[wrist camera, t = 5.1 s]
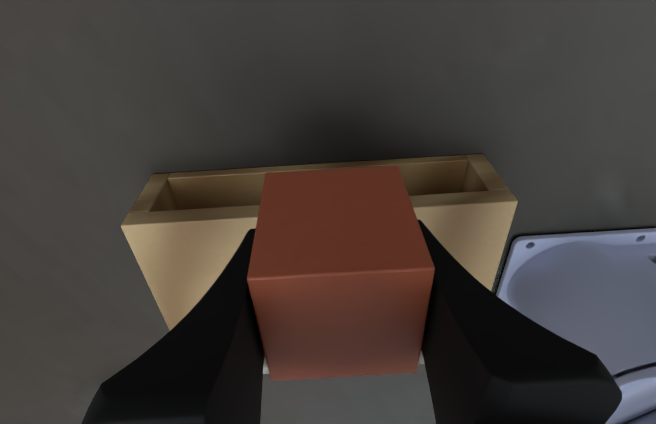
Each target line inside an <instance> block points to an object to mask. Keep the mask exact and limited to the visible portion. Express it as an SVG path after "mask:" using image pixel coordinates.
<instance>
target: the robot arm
mask: <svg viewBox="0 0 656 424" xmlns="http://www.w3.org/2000/svg"><path fill="white" fill-rule="evenodd" d="M418 223H419V225H420V228H421V231H422V234H423V237H424V239H425V242H426V245H427V248H428V251H429V253H430V256H431V259H432V262H433V264H434V267H435V271H434V277H433V283H432V288H431V294H430V300H429V306H428V311H427V317H426V323H425V329H424V335H423V340H422V346H421V350H422V354H423V358H424V363H425V367H426V372H427V377H428V382H429V387H430V392H431V397H432V403H433V408H434V413H435V419H436V424H656V228H648V229H632V230H616V231H600V232H584V233H567V234H551V235H535V236H521V237H518V238H516V239H515V240H513V242H512V245H511V248H510V251H509V255H508V258H507V261H506V264H505V267H504V271H503V274H502V277H501V280H500V283H499V287H498V290H497V293H496V295H495V294H494V293H492V292H491V291H490V290H489V289H487V288H486V287H485V286H484V285H482V284H481V283H480V282H479V281H478V280H477V279H476V278H474V277H473V276H472V275H471V274H470V273H469V272H468V271H467V270H466V269H465V268H464V267H463V266H462V265H461V264H460V263H459V262H458V261H457V260H456V259H455V258H454V257H453V256H452V255H451V254H450V253H449V252H448V251H447V250H446V249H445V248H444V246H443V245H442V244H441V243H440V242H439V241H438V240H437V239H436V237H435V236H434V235H433V234H432V233H431V232H430V230H429V229H428V228H427V227H426V226H425V224H424V223H423V222H422V221H421V220H420V219H419V220H418ZM254 235H255V229H250V230H249V231H248V232H247V233H246V235H245V237H244V239H243V240H242V242H241V244H240V246H239V247H238V249H237V250H236V252H235V254H234V255H233V257H232V258H231V260H230V261H229V263H228V264H227V266H226V267H225V269H224V270H223V271H222V273H221V274H220V276H219V277H218V278H217V280H216V281H215V282H214V283H213V285H212V286H211V287H210V289H209V290H208V291H207V292H206V294H205V295H204V296H203V297H202V298H201V300H200V301H199V302H198V303H197V304H196V305H195V306H194V307H193V308H192V310H191V311H190V312H189V313H188V314H187V315H186V316H185V317H184V318H183V319H182V320H181V321H180V322H179V323H178V324H177V325H176V326H175V327H174V328H173V329H172V330H171V331H169V332H168V333H167V334H166V335H165V336H164V337H163V338H162V339H160V340H159V341H158V342H157V343H156V344H155V345H153V346H152V347H151V348H150V349H149V350H147V351H146V352H145V353H144V354H142V355H141V356H140V357H139V358H137V359H136V360H135V361H133V362H132V363H131V364H129V365H128V366H126V367H125V368H123V369H122V370H121V371H119V372H118V373H116V374H115V375H114V376H112V377H111V378H109V379H108V380H106V381H105V382H103V383H102V384H101V386H100V387H99V389H98V391H97V393H96V394H95V396H94V398H93V400H92V402H91V404H90V406H89V408H88V410H87V412H86V415H85V417H84V419H83V421H82V424H260V415H261V396H262V379H263V365H264V357H265V354H264V349H263V345H262V341H261V337H260V332H259V328H258V324H257V320H256V315H255V311H254V307H253V303H252V299H251V294H250V290H249V286H248V282H247V275H248V270H249V264H250V258H251V252H252V247H253V241H254ZM530 242H531V243H530ZM528 243H529V244H528Z"/></svg>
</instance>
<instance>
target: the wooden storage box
mask: <svg viewBox="0 0 656 424" xmlns="http://www.w3.org/2000/svg"><path fill="white" fill-rule="evenodd" d="M381 166H398V167H399V169H400V172H401V175H402V178H403V181H404V183H405V186H406V189H407V192H408V195H409V197H410V200H411V203H412V206H413V209H414V211H415V214H416V217H417V220H419V219H420V220H421V221H422V222H423V223H424V224H425V226H426V227H427V228H428V229H429V230H430V232H431V233H432V234H433V235H434V236H435V237H436V239H437V240H438V241H439V242H440V243H441V244H442V245H443V246H444V248H445V249H446V250H447V251H448V252H449V253H450V254H451V255H452V256H453V257H454V258H455V259H456V260H457V261H458V262H459V263H460V264H461V265H462V266H463V267H464V268H465V269H466V270H467V271H468V272H469V273H470V274H471V275H472V276H473V277H474V278H476V279H477V280H478V281H479V282H480V283H481V284H482V285H484V286H485V287H486V288H487V289H489V290H490V291H491V290H492V286H493V283H494V280H495V276H496V273H497V270H498V266H499V263H500V260H501V256H502V253H503V250H504V246H505V243H506V240H507V236H508V233H509V230H510V226H511V223H512V220H513V216H514V213H515V210H516V206H517V203H518V201H517V199H516V198H515V197H514V195H513V194H512V193H511V191H510V190H509V188H508V187H507V186H506V184H505V183H504V182H503V180H502V179H501V177H500V176H499V175H498V173H497V172H496V171H495V169H494V168H493V167H492V165H491V164H490V163H489V161H488V160H487V159H486V157H485V156H484V154H471V155H454V156H438V157H422V158H405V159H389V160H373V161H357V162H340V163H324V164H308V165H291V166H275V167H259V168H243V169H226V170H210V171H194V172H177V173H170V174H169V173H165V174H153V175H151V177H150V179H149V180H148V182H147V184H146V185H145V187H144V189H143V190H142V192H141V194H140V195H139V197H138V199H137V200H136V202H135V203H134V205H133V207H132V208H131V210H130V212H129V213H128V215H127V216H126V218H125V220H124V221H123V223H122V224H121V228H122V230H123V232H124V234H125V236H126V238H127V241H128V243H129V245H130V247H131V249H132V251H133V253H134V255H135V258H136V260H137V262H138V264H139V266H140V268H141V270H142V272H143V275H144V277H145V279H146V281H147V283H148V285H149V287H150V289H151V292H152V294H153V296H154V298H155V300H156V302H157V304H158V307H159V309H160V311H161V313H162V315H163V317H164V319H165V321H166V324H167V326H168V328H169V330H170V331H171V330H172V329H173V328H174V327H175V326H176V325H177V324H178V323H179V322H180V321H181V320H182V319H183V318H184V317H185V316H186V315H187V314H188V313H189V312H190V311H191V310H192V308H193V307H194V306H195V305H196V304H197V303H198V302H199V301H200V300H201V298H202V297H203V296H204V295H205V294H206V292H207V291H208V290H209V289H210V287H211V286H212V285H213V283H214V282H215V281H216V280H217V278H218V277H219V276H220V274H221V273H222V271H223V270H224V269H225V267H226V266H227V264H228V263H229V261H230V260H231V258H232V257H233V255H234V254H235V252H236V250H237V249H238V247H239V246H240V244H241V242H242V240H243V239H244V237H245V235H246V233H247V232H248V231H249V230H250V229H256V224H257V218H258V212H259V206H260V200H261V195H262V189H263V183H264V177H265V174H266V173H270V172H289V171H307V170H325V169H344V168H362V167H381ZM419 364H425V363H424V358H423V354H422V350H421V352H420V358H419ZM263 374H269V371H268V366H267V362H266V358H265V357H264V365H263Z"/></svg>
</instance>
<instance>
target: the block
mask: <svg viewBox="0 0 656 424" xmlns="http://www.w3.org/2000/svg"><path fill="white" fill-rule="evenodd" d="M434 271H435V267H434V264H433V262H432V259H431V256H430V253H429V251H428V248H427V245H426V242H425V239H424V237H423V234H422V231H421V228H420V225H419V223H418V220H417V217H416V214H415V211H414V209H413V206H412V203H411V200H410V197H409V195H408V192H407V189H406V186H405V183H404V181H403V178H402V175H401V172H400V169H399V167H398V166H381V167H362V168H344V169H325V170H307V171H289V172H270V173H266V174H265V177H264V183H263V189H262V195H261V200H260V206H259V212H258V218H257V224H256V229H255V235H254V241H253V247H252V252H251V258H250V264H249V270H248V275H247V282H248V286H249V290H250V294H251V299H252V303H253V307H254V311H255V315H256V320H257V324H258V328H259V332H260V337H261V341H262V345H263V349H264V354H265V358H266V362H267V366H268V371H269V375H270V379H271V380H272V381H277V380H295V379H312V378H330V377H347V376H364V375H382V374H399V373H415V372H417V369H418V364H419V358H420V352H421V346H422V340H423V335H424V329H425V323H426V317H427V311H428V306H429V300H430V294H431V288H432V283H433V277H434Z"/></svg>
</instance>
